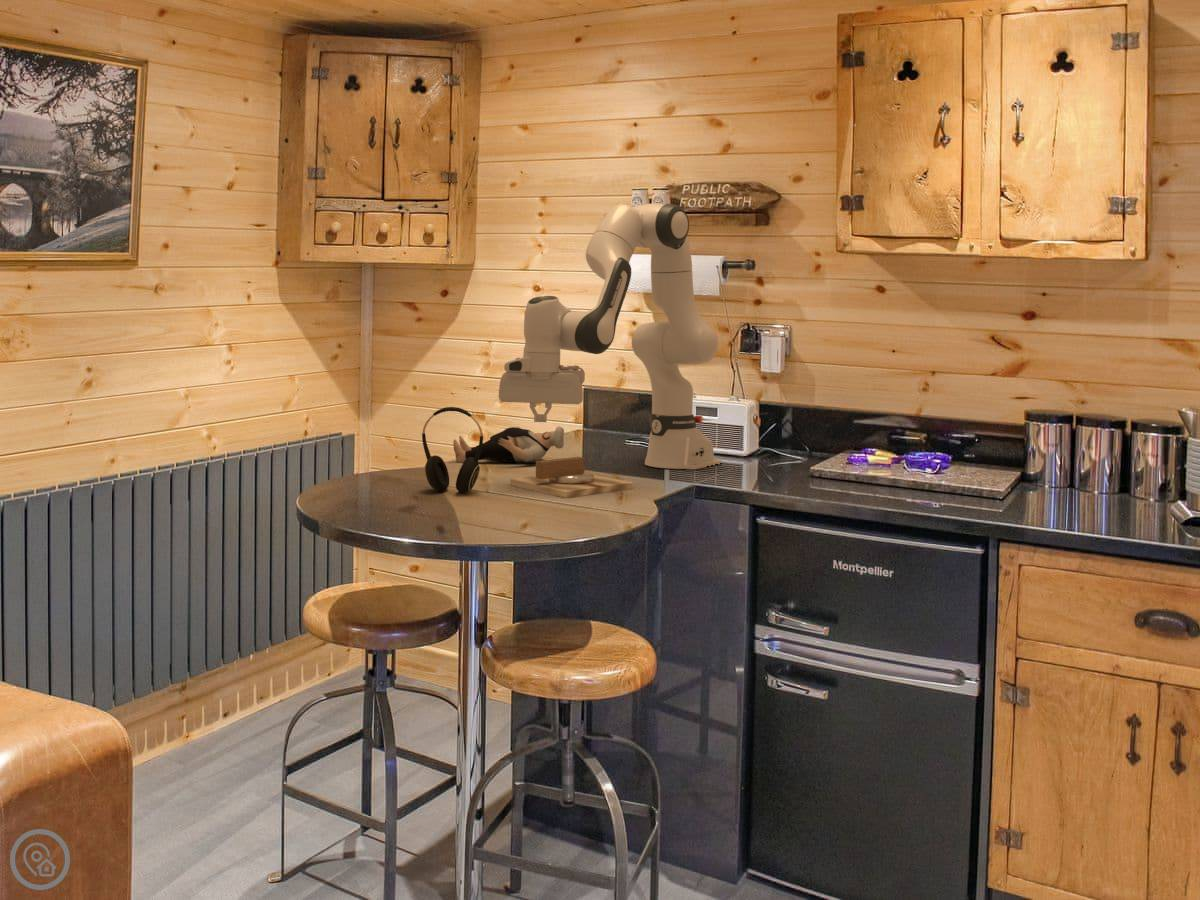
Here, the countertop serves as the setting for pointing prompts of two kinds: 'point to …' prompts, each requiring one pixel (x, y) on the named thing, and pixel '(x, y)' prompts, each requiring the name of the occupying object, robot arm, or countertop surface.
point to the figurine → (513, 445)
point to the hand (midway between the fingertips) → (540, 421)
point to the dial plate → (571, 486)
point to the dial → (564, 470)
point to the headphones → (438, 469)
